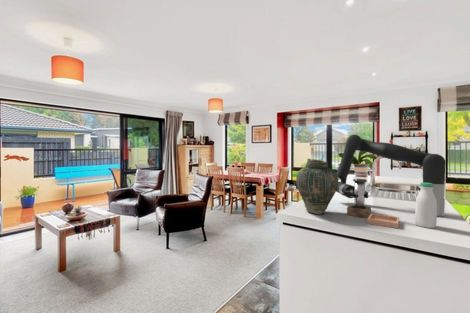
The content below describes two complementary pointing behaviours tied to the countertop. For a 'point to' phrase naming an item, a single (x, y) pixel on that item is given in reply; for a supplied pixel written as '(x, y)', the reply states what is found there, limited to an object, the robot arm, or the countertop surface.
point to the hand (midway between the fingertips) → (361, 196)
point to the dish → (383, 220)
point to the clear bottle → (359, 193)
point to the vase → (316, 185)
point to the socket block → (359, 211)
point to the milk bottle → (426, 207)
